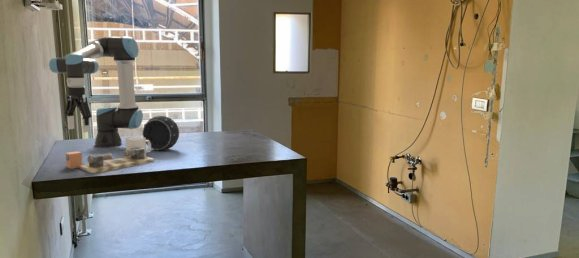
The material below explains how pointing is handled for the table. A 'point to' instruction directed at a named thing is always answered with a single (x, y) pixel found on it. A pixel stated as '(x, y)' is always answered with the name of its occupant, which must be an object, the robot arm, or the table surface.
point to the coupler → (73, 159)
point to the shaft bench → (115, 161)
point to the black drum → (161, 132)
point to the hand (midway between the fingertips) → (78, 130)
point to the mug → (138, 144)
